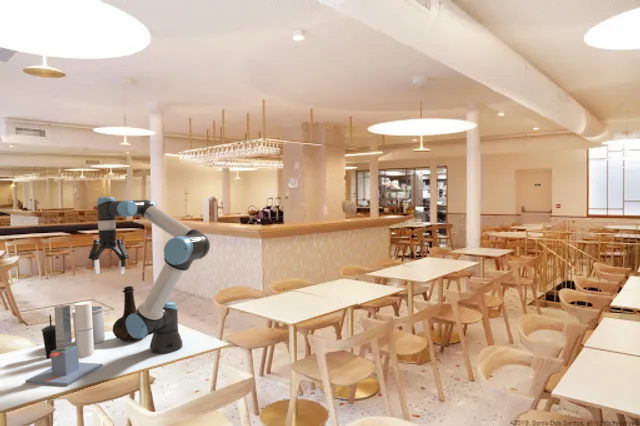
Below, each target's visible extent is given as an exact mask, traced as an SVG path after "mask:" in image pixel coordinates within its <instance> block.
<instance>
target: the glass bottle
mask: <svg viewBox="0 0 640 426" xmlns="http://www.w3.org/2000/svg"><path fill="white" fill-rule="evenodd" d="M134 291H135V289H134V287H133V286H131V285H130V286H129V285H128V286H125V287H123V290H122V293H123V294H124V303H123V304H124V305H123V313H122V316H121V317H119V318H118V319H117V320H116V321H115V322H114V324H113V326H112V332H113V335H114V336H115V338H116V339H118V340H120V341H122V342H133V341H138V340H140V339H142V338H140V339H137V338H134V337H132V336H131V335H130V334H129V332H128V331H127V327H126V319H127V317H128V316H129V315H131V314H134V313H135V312H136V310H137V307H136V302H135V296H134Z"/></svg>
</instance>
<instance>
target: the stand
mask: <svg viewBox="0 0 640 426" xmlns="http://www.w3.org/2000/svg"><path fill="white" fill-rule="evenodd" d="M72 346H73V345H72ZM50 357H51V358H50V361H51V362H50V363H51V367H50V368H48V369H46V370H44V371H42V372H40V373H38V374H36V375H34V376H31V377H29V378H27V379H25V384H31V385H33V384H34V385H46V386H47V385H48V386H63V387H65V386H66V387H68V386H70V385H72V384H74V383H76V382H77V380H78V381H79V380H81V379H83V378H85V377H86V376H88V375H90V374H92V373H93V372H96V371H97V370H99V369H101V368H103V366H104V365H103V363H96V362H95V363H94V362H79V361H80V360H79V357H78V346H77V345H74V346H73V348H71V349H69V350H67V351H56V350H53V351H51V354H50Z"/></svg>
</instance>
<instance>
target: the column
mask: <svg viewBox="0 0 640 426" xmlns="http://www.w3.org/2000/svg"><path fill="white" fill-rule="evenodd" d="M53 309H54V310H53V312H54V325H55V330H56V347H57V349H56V351H67V350H69V349H71V348H73V342H72V341H73V340H72V339H73V338H72V337H73V336H72V324H71V323H72V322H71V319H72V318H71V305H70V304H69V305H67V304H66V305H64V304H61V305H59V306H54V308H53Z"/></svg>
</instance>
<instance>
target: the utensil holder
mask: <svg viewBox="0 0 640 426" xmlns="http://www.w3.org/2000/svg"><path fill="white" fill-rule="evenodd" d="M104 313H105V307H104V306H103V305H92V323H93V341H94V345H97V344H101V343H102V342H104V341H105V340H106V336H105V335H106V334H105V333H106V331H105V330H106V327H105V326H106V325H105V314H104ZM71 315H72V321H73V332H74V342H75V346H77V343H76V324H75V309H73V310H72V311H71Z"/></svg>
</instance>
